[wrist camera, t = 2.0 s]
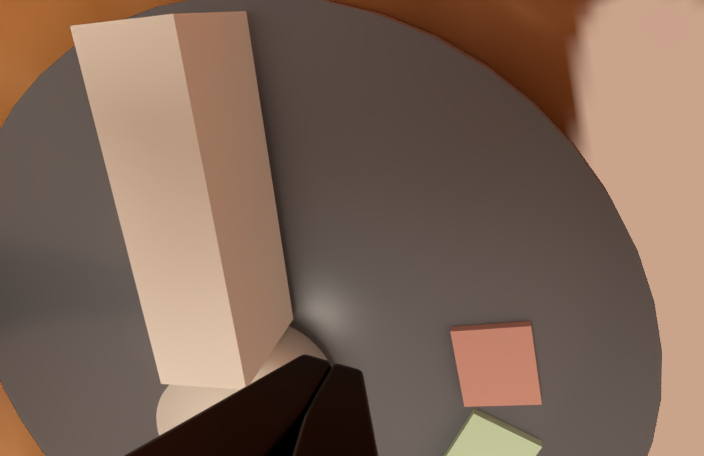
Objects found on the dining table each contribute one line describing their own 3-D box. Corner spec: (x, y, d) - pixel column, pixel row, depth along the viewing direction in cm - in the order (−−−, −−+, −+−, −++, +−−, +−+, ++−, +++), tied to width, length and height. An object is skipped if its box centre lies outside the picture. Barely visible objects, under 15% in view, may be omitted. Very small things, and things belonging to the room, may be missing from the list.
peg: (365, 605, 23) (340, 711, 19) (250, 586, 24) (208, 682, 21) (287, 6, 15) (224, 7, 12) (125, 25, 16) (25, 31, 13)
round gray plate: (87, 554, 29) (67, 581, 28) (-94, 36, 20) (-137, 38, 19) (626, 643, 22) (633, 685, 21) (693, -61, 14) (713, -68, 13)
